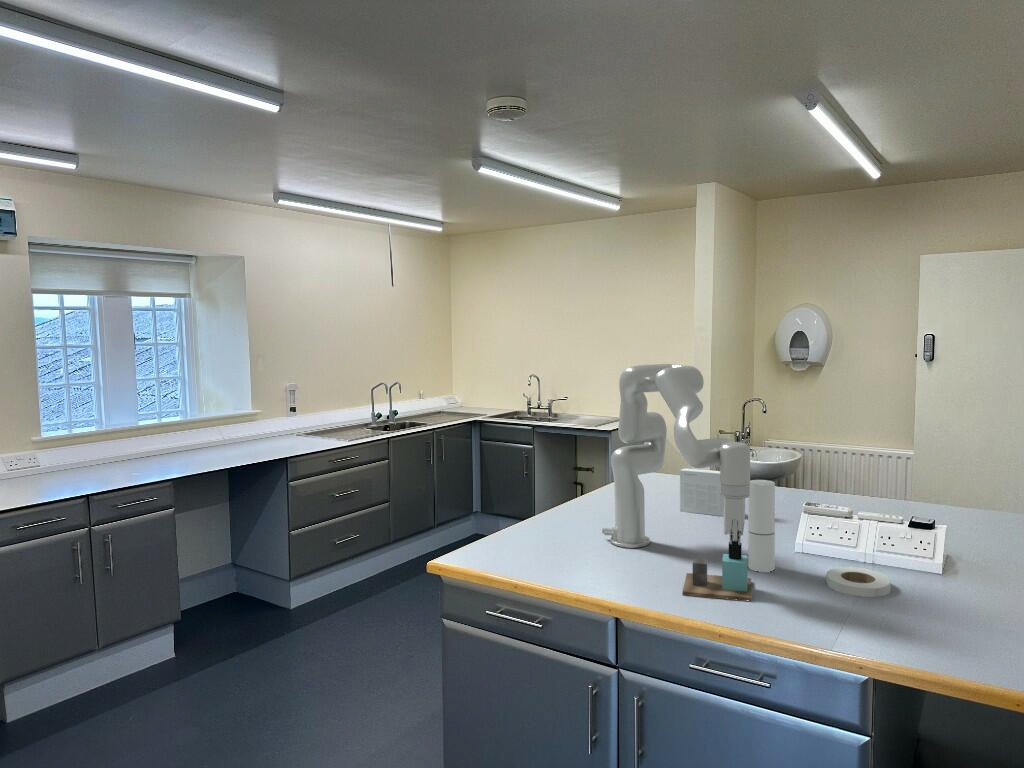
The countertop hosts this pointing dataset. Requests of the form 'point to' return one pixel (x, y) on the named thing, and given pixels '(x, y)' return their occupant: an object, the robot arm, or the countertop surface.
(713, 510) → the skincare box
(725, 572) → the aqua foam cube
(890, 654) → the countertop surface
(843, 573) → the roll of tape
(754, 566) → the cylindrical container
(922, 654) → the countertop surface
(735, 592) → the walnut board
